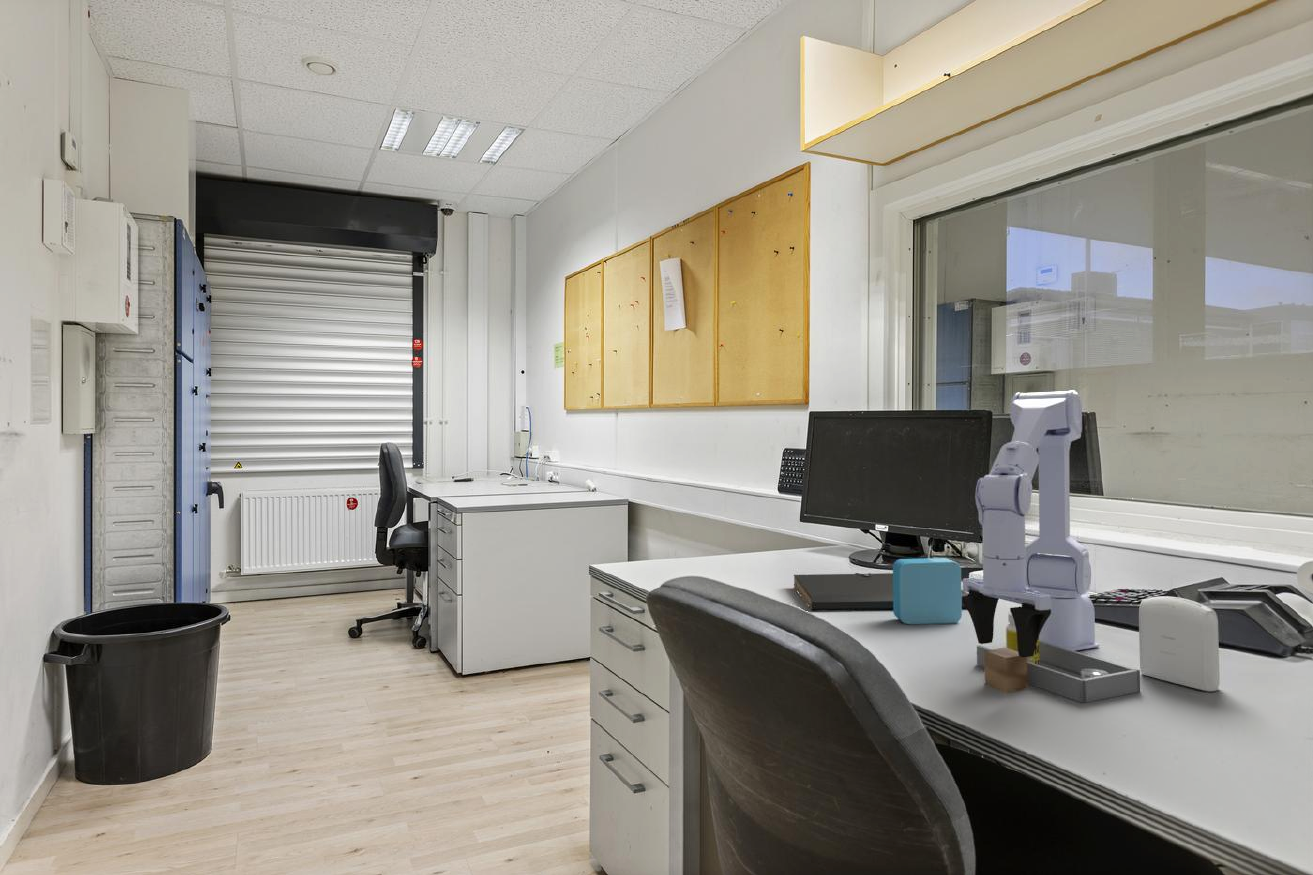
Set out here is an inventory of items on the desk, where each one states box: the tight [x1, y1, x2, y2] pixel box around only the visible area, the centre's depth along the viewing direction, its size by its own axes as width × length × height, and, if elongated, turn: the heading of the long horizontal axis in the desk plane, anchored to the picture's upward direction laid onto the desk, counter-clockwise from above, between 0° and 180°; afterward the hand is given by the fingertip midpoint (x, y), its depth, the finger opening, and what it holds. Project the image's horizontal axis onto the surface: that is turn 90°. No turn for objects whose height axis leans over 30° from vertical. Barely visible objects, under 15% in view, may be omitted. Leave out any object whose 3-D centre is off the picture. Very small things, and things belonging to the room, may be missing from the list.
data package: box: [892, 557, 963, 625], centre depth 152 cm, size 12×4×12 cm, turn 91°
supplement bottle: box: [1005, 611, 1040, 665], centre depth 122 cm, size 5×5×8 cm
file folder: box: [793, 572, 969, 612], centre depth 173 cm, size 33×4×24 cm
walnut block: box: [984, 646, 1028, 693], centre depth 113 cm, size 4×4×5 cm
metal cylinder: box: [1080, 669, 1109, 679], centre depth 110 cm, size 4×4×3 cm
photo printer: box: [1138, 595, 1221, 692], centre depth 114 cm, size 10×4×12 cm, turn 26°
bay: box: [976, 641, 1141, 704], centre depth 117 cm, size 11×19×3 cm, turn 22°
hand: (1005, 649), depth 113 cm, fingers open, 7 cm apart
